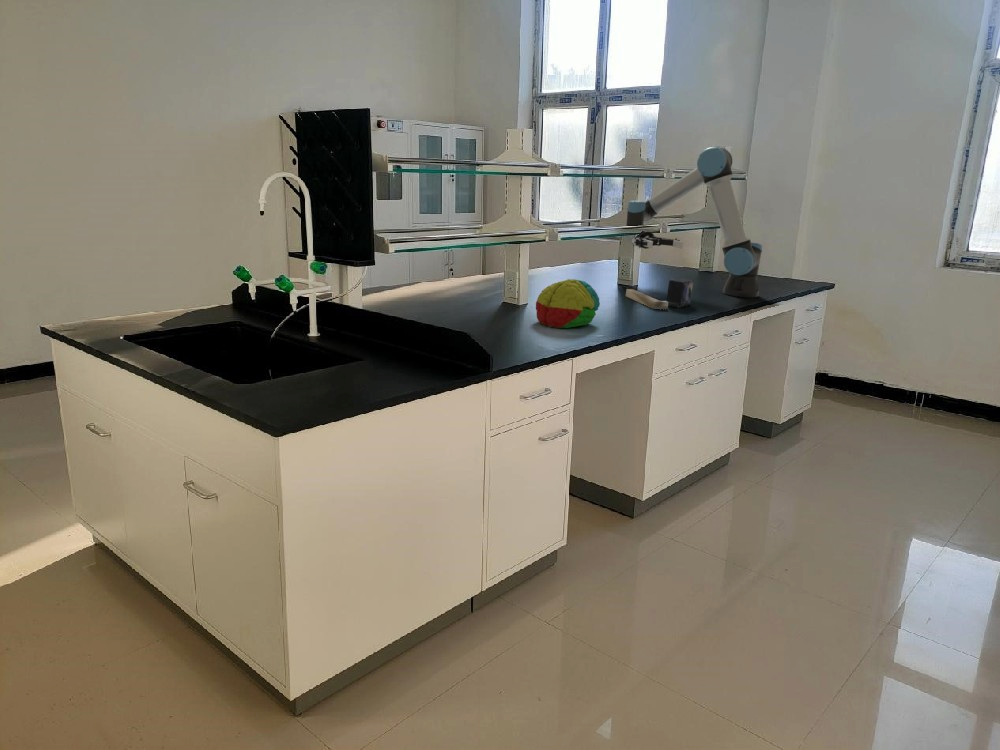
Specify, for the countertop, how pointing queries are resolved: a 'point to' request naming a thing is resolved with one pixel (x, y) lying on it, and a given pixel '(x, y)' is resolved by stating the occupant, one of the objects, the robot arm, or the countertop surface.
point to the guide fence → (646, 299)
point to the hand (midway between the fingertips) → (666, 245)
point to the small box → (679, 292)
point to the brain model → (567, 304)
